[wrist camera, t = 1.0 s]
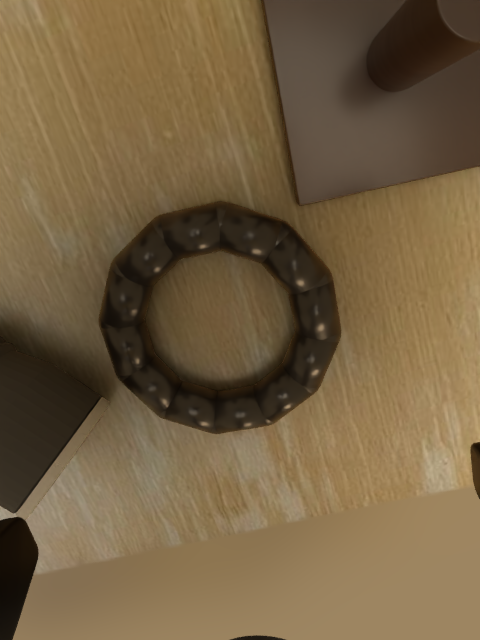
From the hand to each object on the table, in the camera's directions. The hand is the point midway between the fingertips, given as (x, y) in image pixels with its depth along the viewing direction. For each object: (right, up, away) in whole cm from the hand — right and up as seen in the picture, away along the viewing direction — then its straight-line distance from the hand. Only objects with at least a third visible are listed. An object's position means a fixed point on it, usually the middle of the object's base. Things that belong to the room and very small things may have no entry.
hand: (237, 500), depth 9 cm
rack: (+5, +13, +7) cm, 15 cm away
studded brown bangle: (-1, +3, +10) cm, 10 cm away
